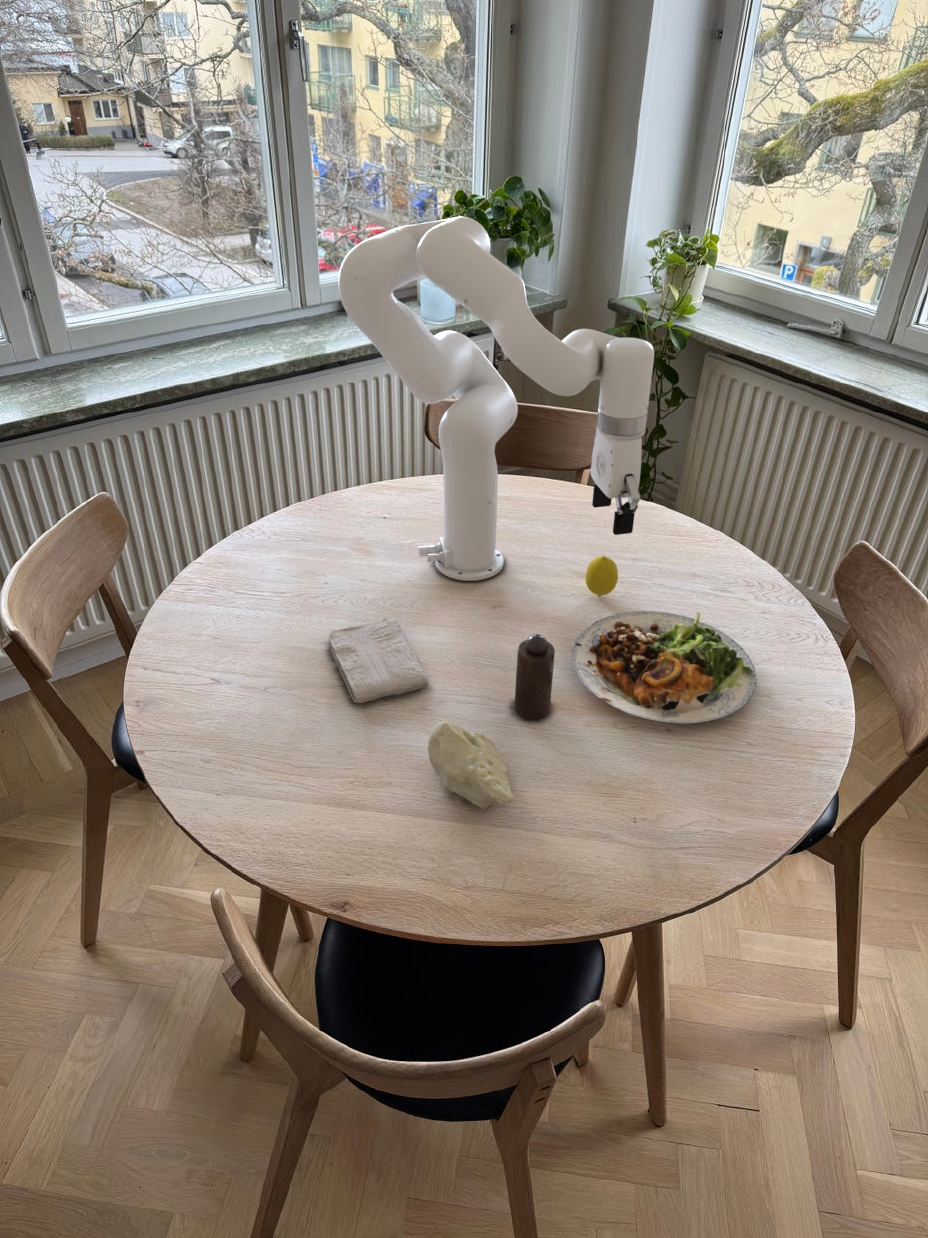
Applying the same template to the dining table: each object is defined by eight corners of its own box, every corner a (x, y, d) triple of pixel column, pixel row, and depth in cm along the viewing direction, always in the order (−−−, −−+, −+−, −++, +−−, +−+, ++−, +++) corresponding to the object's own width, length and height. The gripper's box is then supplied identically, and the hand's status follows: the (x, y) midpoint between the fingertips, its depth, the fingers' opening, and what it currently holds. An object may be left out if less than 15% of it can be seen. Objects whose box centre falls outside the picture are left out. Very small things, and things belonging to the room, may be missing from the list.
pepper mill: (519, 723, 130) (524, 649, 122) (510, 700, 134) (514, 628, 127) (554, 718, 131) (560, 645, 123) (544, 695, 135) (549, 623, 128)
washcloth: (394, 626, 149) (393, 611, 148) (431, 690, 136) (431, 674, 134) (324, 641, 146) (322, 626, 144) (355, 709, 132) (354, 693, 130)
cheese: (433, 754, 127) (389, 756, 113) (465, 714, 126) (424, 711, 112) (512, 829, 122) (475, 841, 108) (546, 789, 121) (514, 795, 107)
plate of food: (760, 642, 147) (768, 611, 143) (746, 753, 125) (755, 720, 122) (592, 609, 154) (595, 579, 151) (551, 708, 133) (554, 676, 129)
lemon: (614, 588, 160) (619, 549, 155) (615, 605, 155) (621, 565, 151) (583, 586, 160) (587, 547, 156) (583, 603, 156) (587, 563, 151)
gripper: (580, 403, 146) (573, 498, 156) (619, 445, 132) (608, 547, 142) (624, 399, 147) (614, 494, 157) (666, 441, 133) (653, 542, 143)
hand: (611, 519), depth 149 cm, fingers open, 9 cm apart
